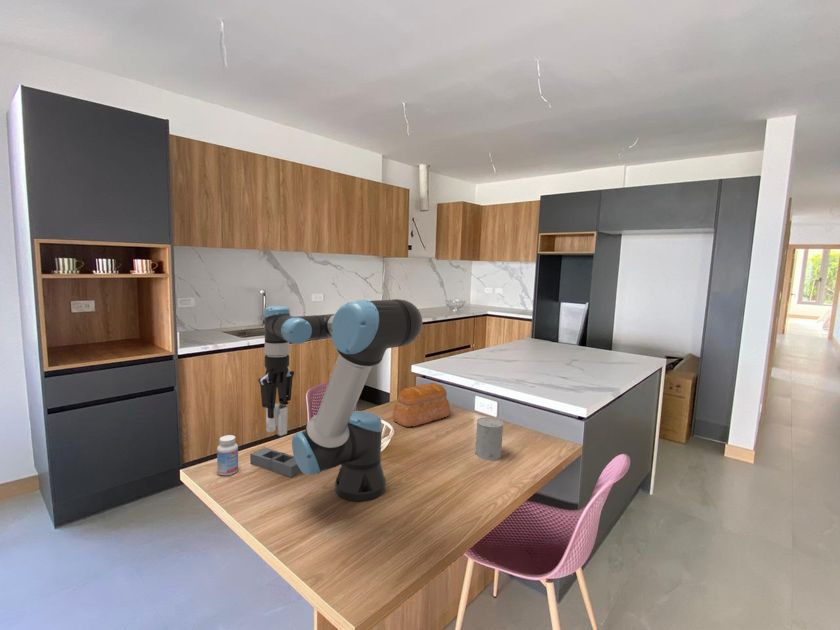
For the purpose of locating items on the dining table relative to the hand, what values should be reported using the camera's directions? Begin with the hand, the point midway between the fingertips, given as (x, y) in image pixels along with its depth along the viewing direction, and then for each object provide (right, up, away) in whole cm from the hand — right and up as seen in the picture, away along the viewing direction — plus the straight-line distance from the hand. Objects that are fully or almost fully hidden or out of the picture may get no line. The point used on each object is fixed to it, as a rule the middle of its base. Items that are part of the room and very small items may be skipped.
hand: (276, 425), depth 138 cm
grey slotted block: (0, -14, +2) cm, 14 cm away
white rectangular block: (0, -2, 0) cm, 3 cm away
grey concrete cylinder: (+72, -15, +17) cm, 75 cm away
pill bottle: (-15, -14, -3) cm, 21 cm away
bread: (+47, -11, +50) cm, 70 cm away
